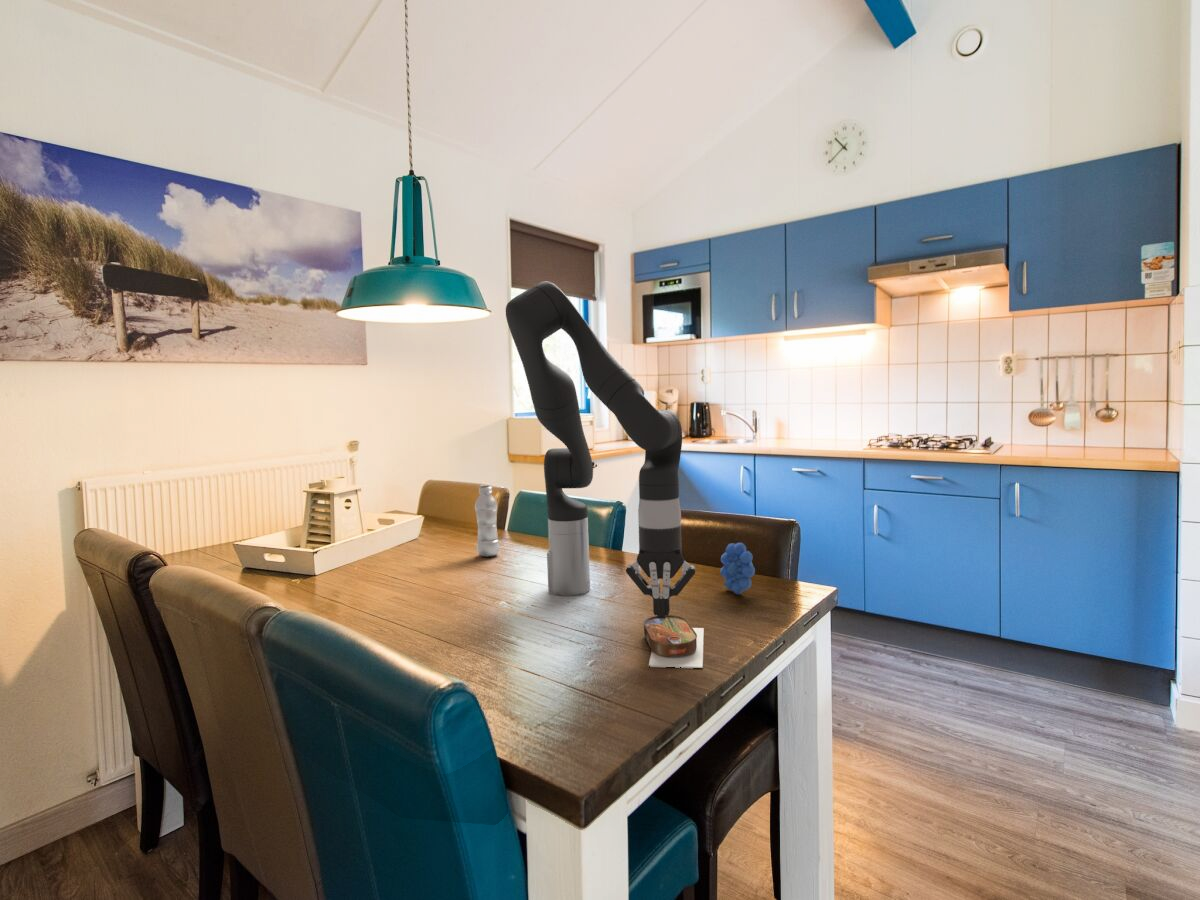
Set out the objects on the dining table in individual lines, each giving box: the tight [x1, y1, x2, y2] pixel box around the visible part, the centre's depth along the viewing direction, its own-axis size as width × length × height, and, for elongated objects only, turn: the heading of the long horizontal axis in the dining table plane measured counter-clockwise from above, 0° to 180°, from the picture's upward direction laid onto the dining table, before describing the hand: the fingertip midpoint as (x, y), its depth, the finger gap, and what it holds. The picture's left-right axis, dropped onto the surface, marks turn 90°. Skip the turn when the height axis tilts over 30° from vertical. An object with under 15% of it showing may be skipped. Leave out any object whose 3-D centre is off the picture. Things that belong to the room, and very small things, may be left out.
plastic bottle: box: [474, 485, 501, 557], centre depth 191 cm, size 6×7×20 cm
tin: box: [643, 614, 697, 657], centre depth 123 cm, size 15×3×8 cm
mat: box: [648, 627, 705, 669], centre depth 122 cm, size 9×18×1 cm, turn 171°
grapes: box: [719, 542, 756, 595], centre depth 151 cm, size 12×7×12 cm, turn 23°
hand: (661, 617), depth 122 cm, fingers closed
